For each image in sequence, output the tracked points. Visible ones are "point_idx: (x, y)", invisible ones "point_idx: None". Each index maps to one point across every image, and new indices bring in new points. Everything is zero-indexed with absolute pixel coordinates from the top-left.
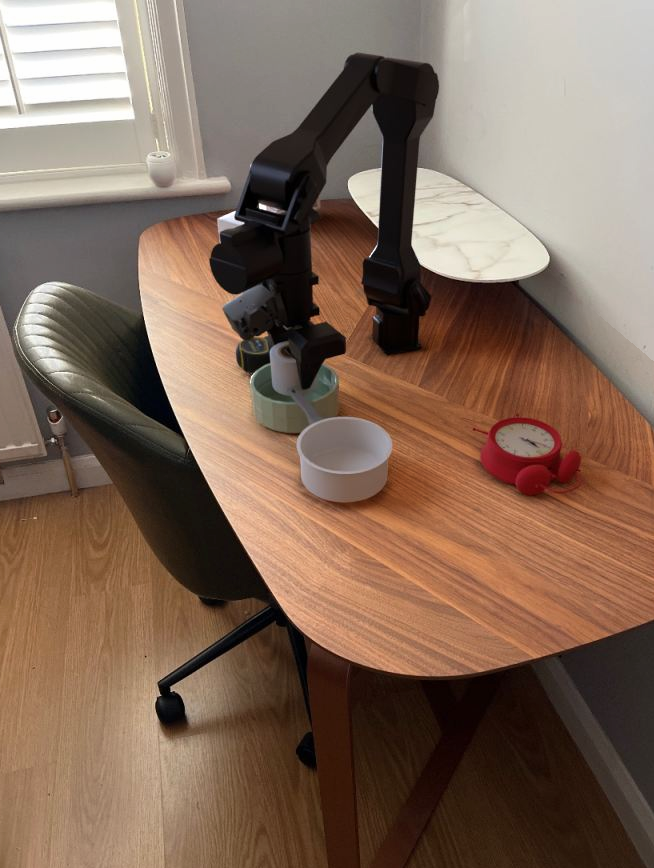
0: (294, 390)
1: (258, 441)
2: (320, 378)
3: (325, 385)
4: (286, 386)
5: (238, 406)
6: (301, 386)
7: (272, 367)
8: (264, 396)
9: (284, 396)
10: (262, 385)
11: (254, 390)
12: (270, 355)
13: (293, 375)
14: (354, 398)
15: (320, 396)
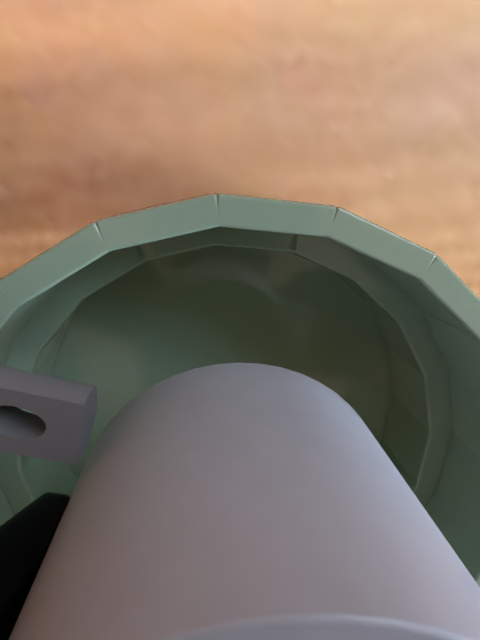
0: (36, 433)
1: (139, 96)
2: None
3: None
4: (145, 424)
5: (457, 229)
6: (51, 505)
7: (332, 484)
8: (395, 351)
9: None
10: (438, 377)
11: (342, 224)
12: (444, 624)
13: (61, 552)
14: None
15: None
